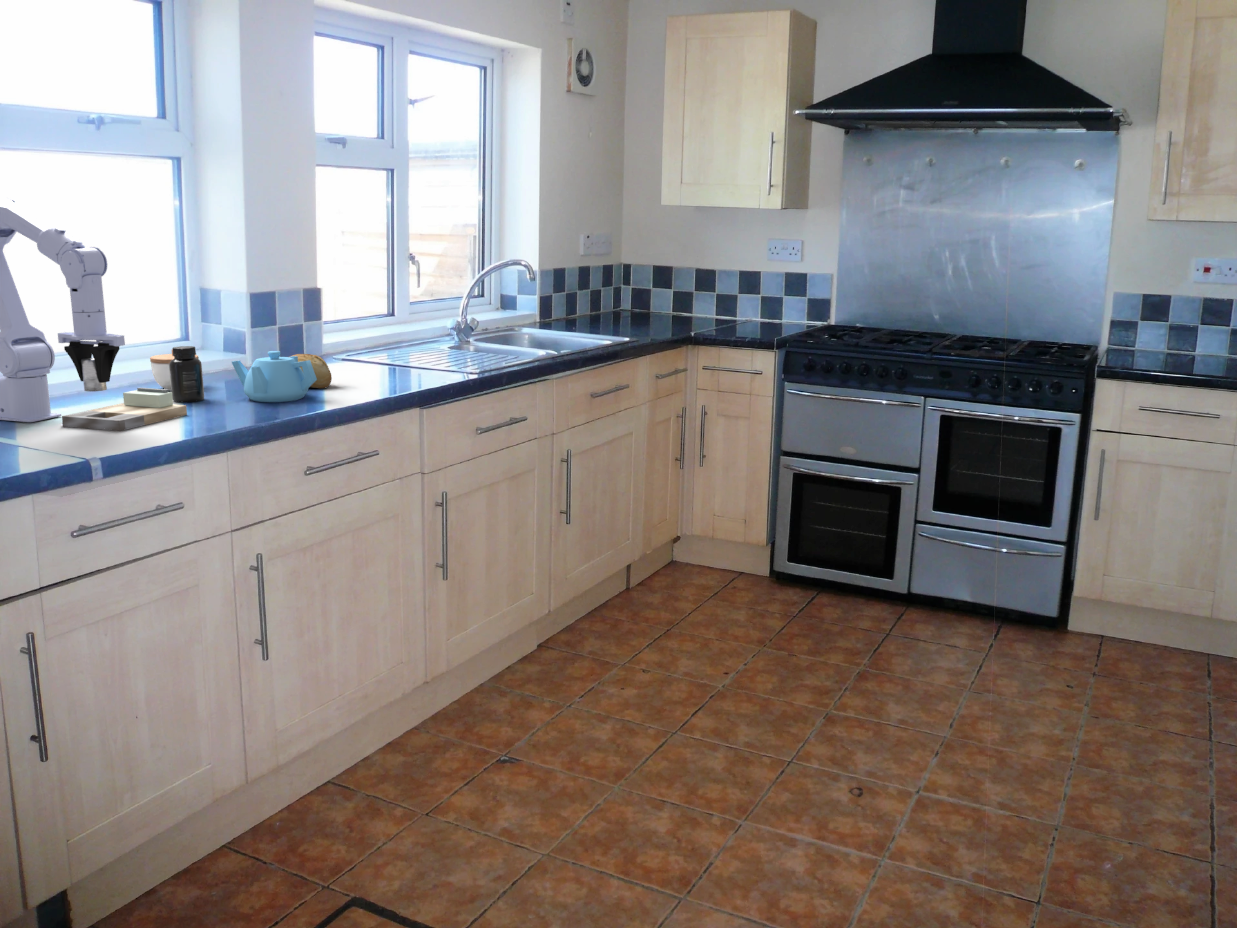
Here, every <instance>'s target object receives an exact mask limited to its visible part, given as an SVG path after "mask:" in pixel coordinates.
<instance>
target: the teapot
mask: <svg viewBox="0 0 1237 928" xmlns="http://www.w3.org/2000/svg"><path fill="white" fill-rule="evenodd" d="M267 355H268V356H267V357H265V356H264V357H260V358H256V359H255V360H254V361H253V363H252V365H251V366H250V368H249V370H248V369H247V367H246V366H245V365H244V364H243V363H242V362H241V360H232V361H231V365H232V367H233V368H234V370H235V372H236V375H237V376H238V379H239V380H240V383H241V385H242V387H243V391H244V395H246V396H247V398H248V399H249V400H250V401H253V402H259V403H284V402H294V401H297V400H301V399H303V398H304V397H305V396H306V394H307V393H308V391H309V388H311V387H310V386H311V385H312V384H313V383H314V382H315V381H316V380H317V378H316V375H315V373H314V370H313V367H312V364H311V361H310V360H308V361H302V362H298V356H292V355H290V356H291V357H290V356H280V355H281V351H280V350H270V351H267ZM301 366H302V369H303V371H302V370H301V368H300V367H301ZM303 372H304V373H303Z"/></svg>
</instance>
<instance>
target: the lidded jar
mask: <svg viewBox="0 0 1237 928" xmlns="http://www.w3.org/2000/svg"><path fill="white" fill-rule="evenodd" d="M195 357H196V358H197V359H199V355H198V354H196V355H195ZM149 359H150V365H151V373H152V376H153V378H154V381H155V382H156V383H157V384H158V385H159V387H161V388H162V389H163V388H164V389H167V391H171V381H170V370H169V363H170V361H171V360H173V359H174V356H173V349H171V353H166V354H156V355H152V356H150V357H149ZM199 360H200V359H199Z"/></svg>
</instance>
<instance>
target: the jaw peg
mask: <svg viewBox="0 0 1237 928" xmlns="http://www.w3.org/2000/svg"><path fill="white" fill-rule="evenodd" d="M81 363H82V373H83V381H82V383H83V390H84V392H104V391H106V390H108V388H107V382H104V383H99V380H98V376H97V369H96V364H95V361H94V358H93V357H92V358H87V359H82V360H81Z"/></svg>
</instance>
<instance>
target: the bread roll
mask: <svg viewBox="0 0 1237 928" xmlns="http://www.w3.org/2000/svg"><path fill="white" fill-rule="evenodd" d="M291 356H298V362H302V361H308V360H310V361H311V364H312V367H313V370H314V373H315V375H316V378H317V380H316V381H315V382H314V383H313V384H312V385H311V386H310V387H309V388H313V389H320V390H321V389H326V388H328V387H329V386H330V385H331V383H332V379H333V378H332V373H331V371H330V367H329V366H328V364H327V362H326V361H325V360H324V359H323V358H322V357H321V356H319V355H317V354H311V353H297V354H293V355H289V357H291ZM300 368H301V370H302V371H303V369H302V366H301V367H300ZM303 373H304V372H303Z"/></svg>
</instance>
